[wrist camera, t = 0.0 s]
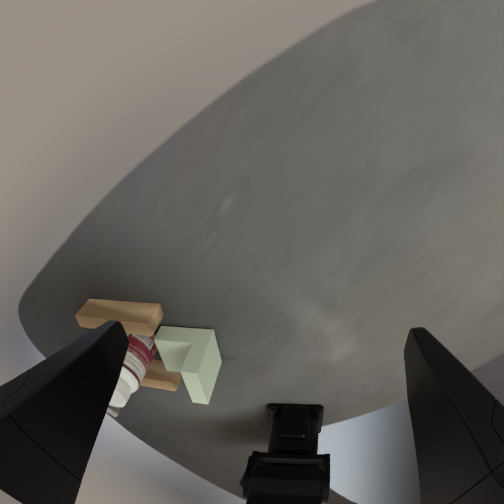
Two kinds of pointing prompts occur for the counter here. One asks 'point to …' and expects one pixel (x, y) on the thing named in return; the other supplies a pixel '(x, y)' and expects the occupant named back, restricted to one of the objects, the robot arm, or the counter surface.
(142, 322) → the channel
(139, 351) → the pill bottle
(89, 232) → the counter surface
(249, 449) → the counter surface
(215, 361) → the block
